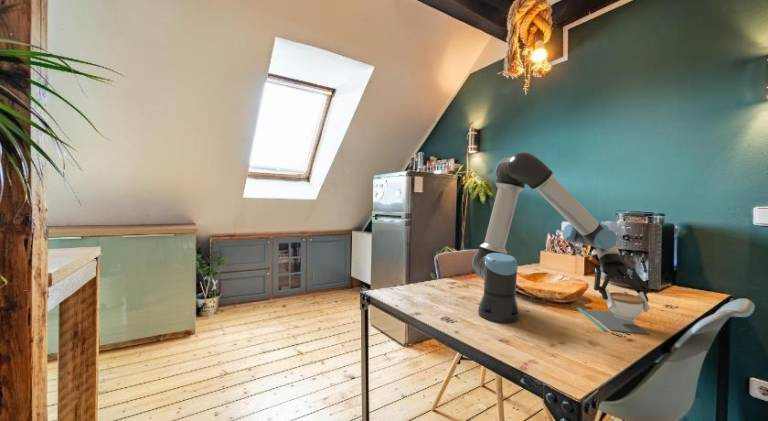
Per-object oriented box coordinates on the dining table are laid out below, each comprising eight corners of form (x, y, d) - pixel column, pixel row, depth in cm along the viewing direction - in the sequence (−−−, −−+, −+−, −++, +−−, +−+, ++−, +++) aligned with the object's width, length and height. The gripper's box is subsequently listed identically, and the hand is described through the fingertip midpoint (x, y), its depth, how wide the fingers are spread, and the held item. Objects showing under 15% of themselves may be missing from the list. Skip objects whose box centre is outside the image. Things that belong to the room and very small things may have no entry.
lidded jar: (638, 315, 122) (640, 290, 121) (646, 325, 112) (648, 298, 111) (604, 310, 126) (605, 286, 126) (609, 319, 117) (610, 293, 116)
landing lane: (603, 331, 113) (604, 330, 113) (576, 308, 137) (576, 307, 137) (651, 335, 110) (651, 334, 110) (615, 311, 134) (615, 311, 134)
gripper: (637, 264, 131) (660, 316, 117) (575, 261, 136) (589, 310, 121) (646, 254, 126) (671, 306, 111) (581, 250, 130) (597, 301, 116)
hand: (629, 308), depth 116 cm, fingers closed on lidded jar, 11 cm apart
